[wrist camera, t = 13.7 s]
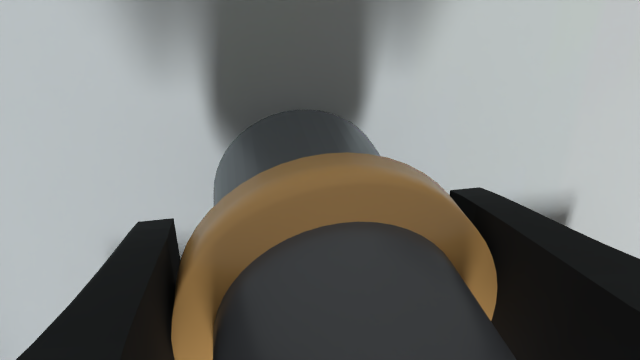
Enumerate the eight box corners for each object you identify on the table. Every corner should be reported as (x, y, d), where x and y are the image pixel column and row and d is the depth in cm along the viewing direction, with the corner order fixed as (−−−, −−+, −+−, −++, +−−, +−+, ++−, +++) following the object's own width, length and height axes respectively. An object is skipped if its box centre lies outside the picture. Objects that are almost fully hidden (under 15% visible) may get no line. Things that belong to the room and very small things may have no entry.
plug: (204, 291, 13) (194, 640, 7) (167, 95, 10) (96, 367, 4) (401, 262, 13) (554, 552, 7) (411, 72, 11) (656, 276, 5)
